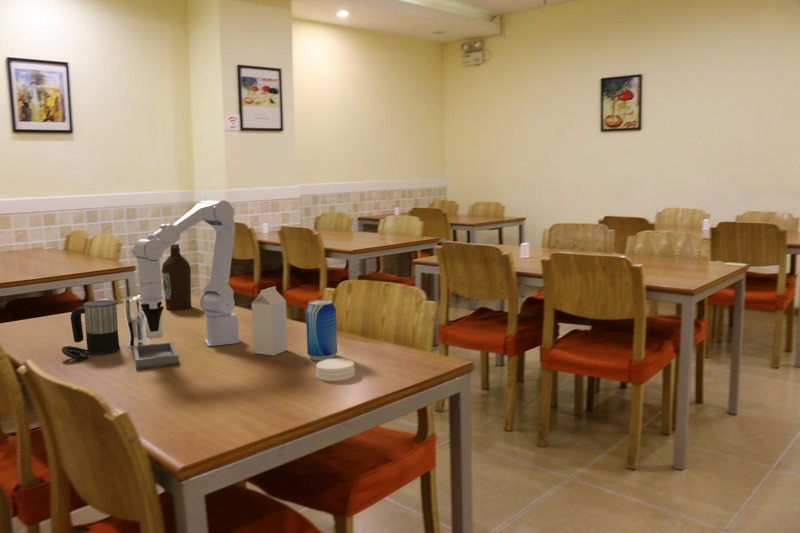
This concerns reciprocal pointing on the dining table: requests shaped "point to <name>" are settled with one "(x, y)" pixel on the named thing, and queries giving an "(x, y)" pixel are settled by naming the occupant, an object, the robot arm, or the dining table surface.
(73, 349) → the milk frother
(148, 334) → the salt shaker
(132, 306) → the beer glass
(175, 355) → the tray
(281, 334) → the milk carton
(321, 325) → the beer can
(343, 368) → the white round container
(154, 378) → the dining table surface
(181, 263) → the olive oil
